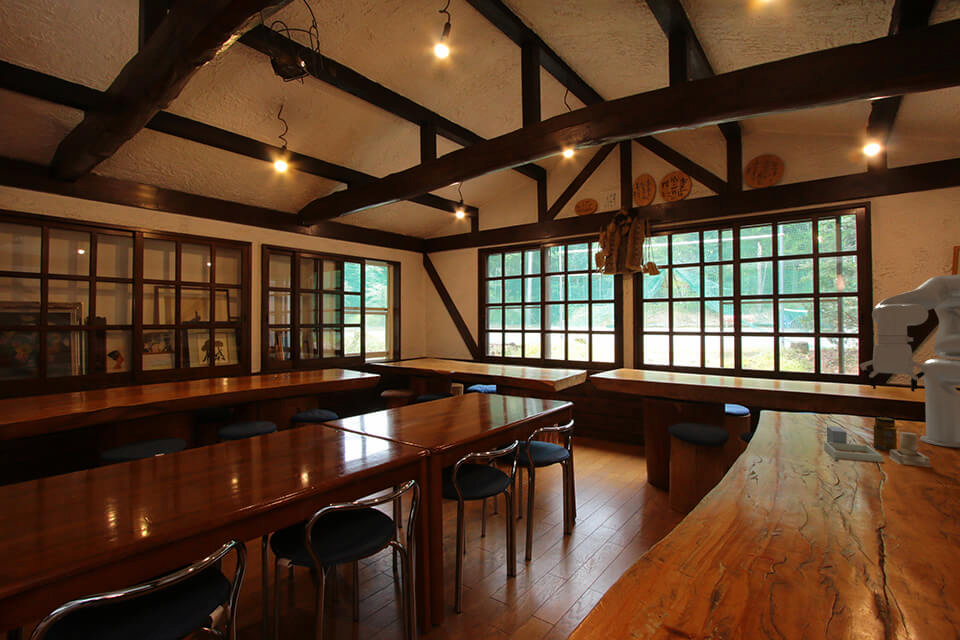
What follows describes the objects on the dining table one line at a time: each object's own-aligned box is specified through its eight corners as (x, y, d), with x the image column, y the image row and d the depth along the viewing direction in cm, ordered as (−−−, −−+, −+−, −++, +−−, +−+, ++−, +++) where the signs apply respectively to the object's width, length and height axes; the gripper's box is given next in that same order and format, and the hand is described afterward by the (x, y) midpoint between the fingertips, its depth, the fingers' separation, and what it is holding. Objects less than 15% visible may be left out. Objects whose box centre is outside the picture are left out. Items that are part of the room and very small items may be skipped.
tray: (868, 453, 153) (867, 445, 153) (882, 465, 141) (882, 455, 141) (824, 449, 158) (824, 441, 158) (835, 460, 147) (834, 451, 147)
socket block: (919, 462, 143) (919, 451, 143) (931, 470, 136) (931, 458, 136) (887, 459, 147) (887, 448, 147) (898, 466, 139) (898, 455, 139)
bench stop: (840, 445, 162) (840, 427, 162) (846, 451, 156) (846, 431, 156) (827, 444, 164) (826, 426, 164) (832, 450, 157) (832, 430, 157)
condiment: (899, 451, 154) (898, 418, 154) (898, 457, 148) (897, 422, 148) (871, 447, 160) (871, 415, 159) (869, 453, 154) (868, 419, 154)
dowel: (914, 460, 142) (913, 432, 142) (920, 464, 139) (919, 435, 139) (898, 458, 144) (897, 431, 144) (903, 462, 140) (903, 434, 140)
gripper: (926, 340, 147) (928, 390, 147) (859, 339, 159) (860, 386, 159) (928, 341, 142) (930, 394, 142) (858, 340, 153) (859, 389, 153)
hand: (893, 389), depth 150 cm, fingers open, 9 cm apart
